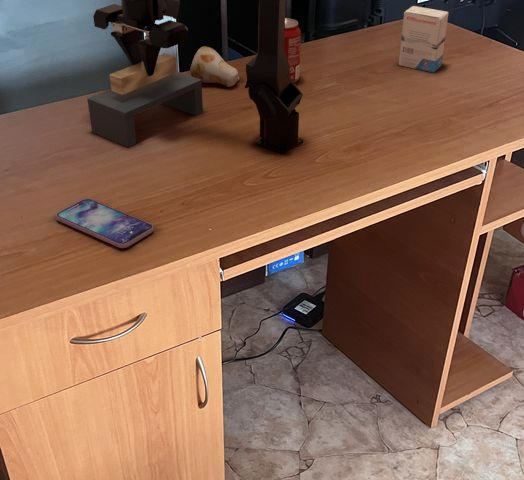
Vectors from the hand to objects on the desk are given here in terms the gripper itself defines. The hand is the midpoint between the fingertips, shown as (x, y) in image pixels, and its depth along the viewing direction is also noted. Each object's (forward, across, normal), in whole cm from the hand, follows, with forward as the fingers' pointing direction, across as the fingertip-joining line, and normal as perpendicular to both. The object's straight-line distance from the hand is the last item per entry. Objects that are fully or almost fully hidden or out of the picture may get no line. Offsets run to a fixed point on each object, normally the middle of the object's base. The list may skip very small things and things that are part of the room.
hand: (144, 73), depth 145 cm
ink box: (+10, -25, -59) cm, 65 cm away
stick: (+2, 0, 0) cm, 2 cm away
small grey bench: (+10, 0, 0) cm, 10 cm away
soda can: (+10, -7, -33) cm, 35 cm away
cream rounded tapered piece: (+10, +3, -23) cm, 25 cm away
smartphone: (+10, -22, +31) cm, 39 cm away
